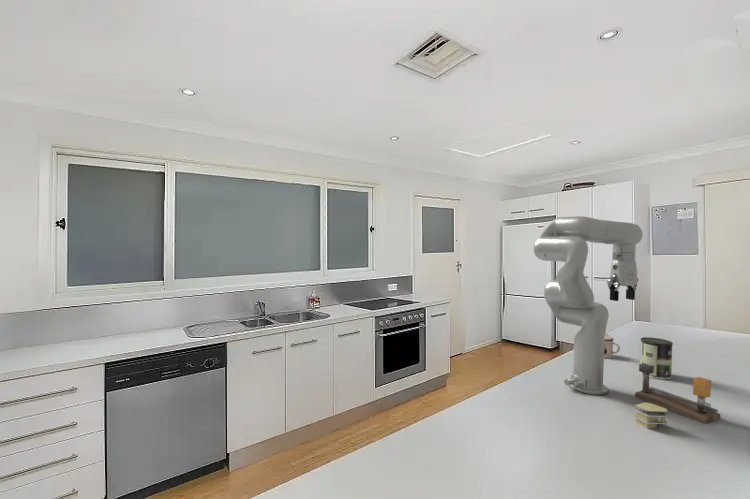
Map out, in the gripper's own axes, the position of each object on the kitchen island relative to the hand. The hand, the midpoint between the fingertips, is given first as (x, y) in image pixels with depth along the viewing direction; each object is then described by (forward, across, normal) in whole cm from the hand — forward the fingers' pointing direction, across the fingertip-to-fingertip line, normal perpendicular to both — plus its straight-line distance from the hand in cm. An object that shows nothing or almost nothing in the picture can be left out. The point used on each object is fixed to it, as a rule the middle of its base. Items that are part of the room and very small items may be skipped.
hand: (622, 299), depth 148 cm
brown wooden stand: (+30, -12, -26) cm, 42 cm away
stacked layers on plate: (+31, -32, -31) cm, 54 cm away
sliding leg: (+28, -11, -33) cm, 45 cm away
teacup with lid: (+31, +18, +19) cm, 40 cm away
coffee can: (+31, +14, -5) cm, 34 cm away
